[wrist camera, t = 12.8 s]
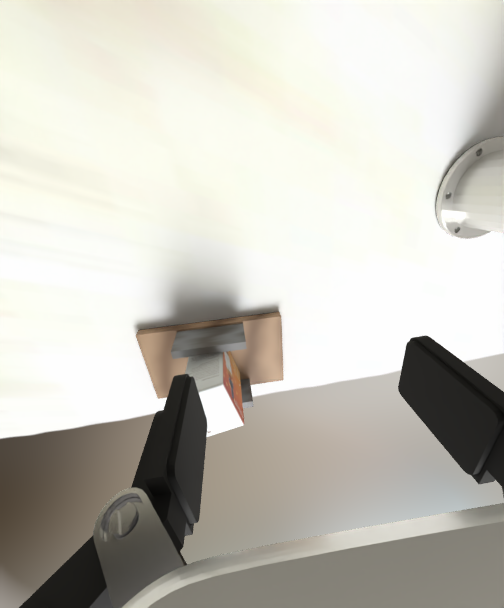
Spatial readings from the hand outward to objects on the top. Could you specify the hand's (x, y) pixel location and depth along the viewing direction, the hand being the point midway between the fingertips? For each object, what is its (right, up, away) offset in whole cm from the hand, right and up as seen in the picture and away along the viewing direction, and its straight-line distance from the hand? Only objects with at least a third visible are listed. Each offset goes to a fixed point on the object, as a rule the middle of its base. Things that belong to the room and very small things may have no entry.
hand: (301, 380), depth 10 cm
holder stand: (-8, -5, +30) cm, 32 cm away
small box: (-8, -6, +29) cm, 30 cm away
